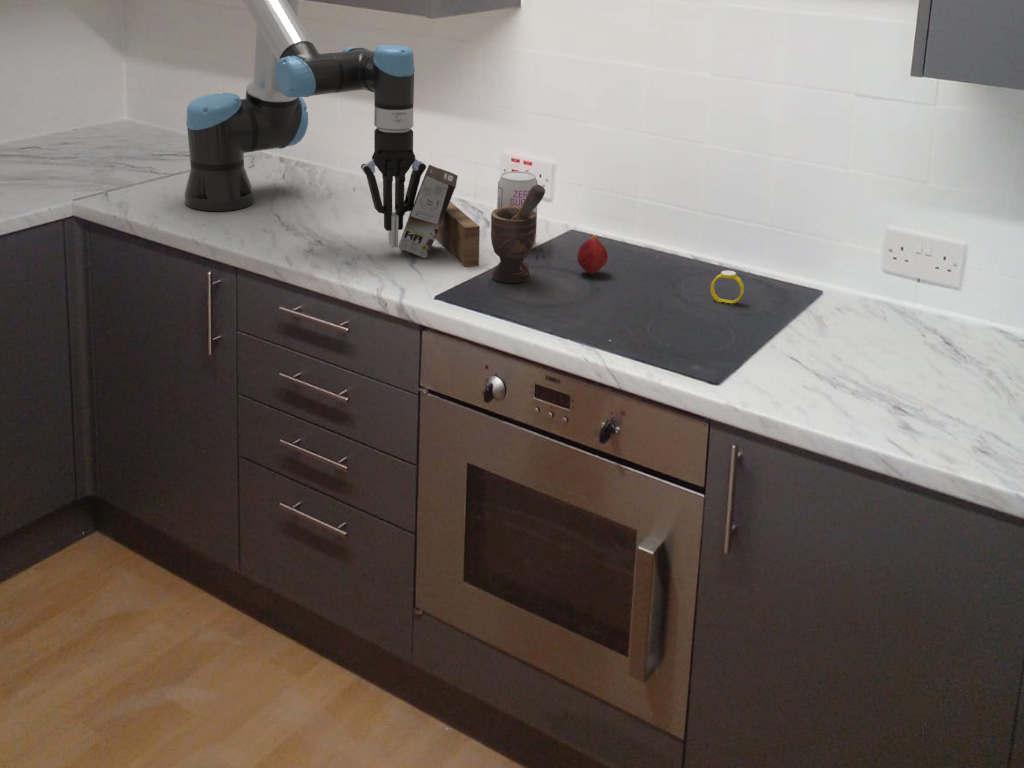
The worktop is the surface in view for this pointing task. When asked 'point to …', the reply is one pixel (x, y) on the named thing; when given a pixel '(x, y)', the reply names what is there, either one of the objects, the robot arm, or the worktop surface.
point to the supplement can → (515, 190)
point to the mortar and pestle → (514, 237)
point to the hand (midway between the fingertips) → (393, 245)
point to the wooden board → (459, 236)
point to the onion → (592, 255)
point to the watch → (728, 275)
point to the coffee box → (428, 211)
